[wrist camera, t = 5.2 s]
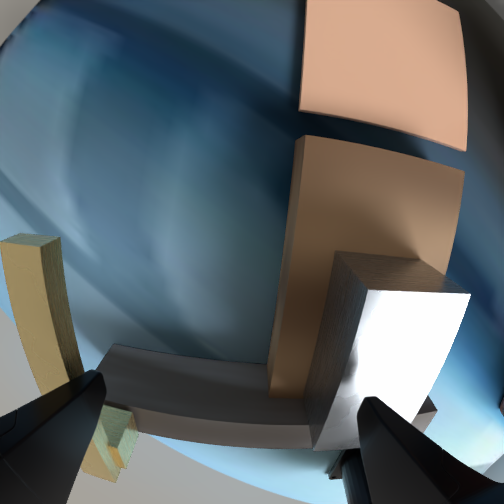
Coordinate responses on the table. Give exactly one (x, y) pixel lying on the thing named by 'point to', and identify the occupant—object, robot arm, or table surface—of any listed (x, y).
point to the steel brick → (378, 341)
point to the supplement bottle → (502, 407)
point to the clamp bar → (59, 342)
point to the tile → (387, 66)
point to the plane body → (296, 298)
